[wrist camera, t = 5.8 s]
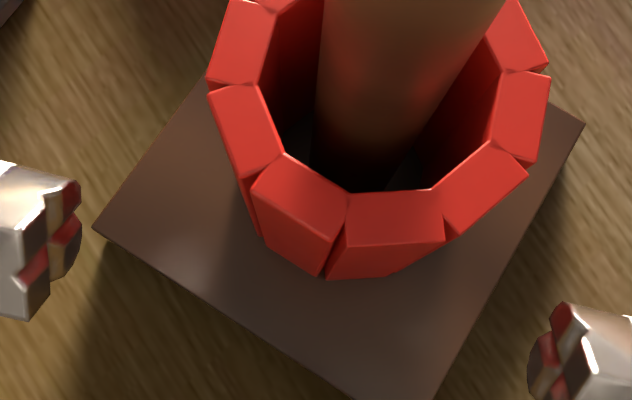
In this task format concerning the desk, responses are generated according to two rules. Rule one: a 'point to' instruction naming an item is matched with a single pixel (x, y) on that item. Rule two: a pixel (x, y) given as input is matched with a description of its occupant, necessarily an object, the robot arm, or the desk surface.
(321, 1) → the ring
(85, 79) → the desk surface
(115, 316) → the desk surface
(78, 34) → the desk surface
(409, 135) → the ring holder
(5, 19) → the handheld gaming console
